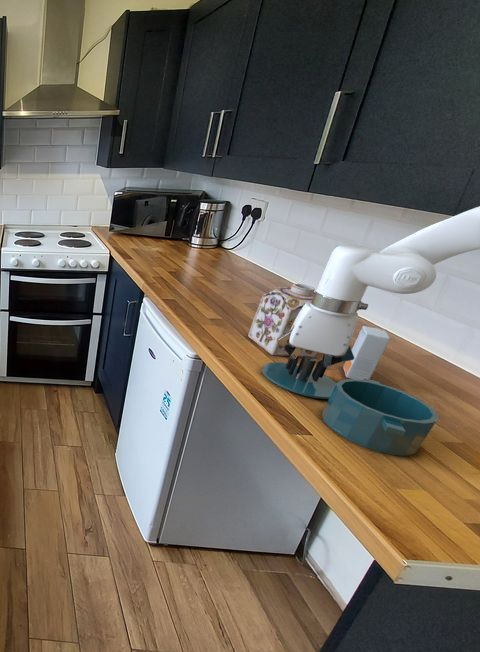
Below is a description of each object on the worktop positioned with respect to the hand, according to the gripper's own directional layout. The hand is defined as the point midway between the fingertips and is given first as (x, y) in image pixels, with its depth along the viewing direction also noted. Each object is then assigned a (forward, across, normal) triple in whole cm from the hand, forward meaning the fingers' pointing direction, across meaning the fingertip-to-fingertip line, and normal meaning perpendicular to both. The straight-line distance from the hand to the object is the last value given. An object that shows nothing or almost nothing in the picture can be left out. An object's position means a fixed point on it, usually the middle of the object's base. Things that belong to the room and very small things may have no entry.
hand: (302, 374), depth 94 cm
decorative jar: (+2, +3, -20) cm, 20 cm away
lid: (+1, 0, 0) cm, 1 cm away
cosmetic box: (+2, -12, -13) cm, 18 cm away
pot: (+2, -10, +14) cm, 17 cm away
